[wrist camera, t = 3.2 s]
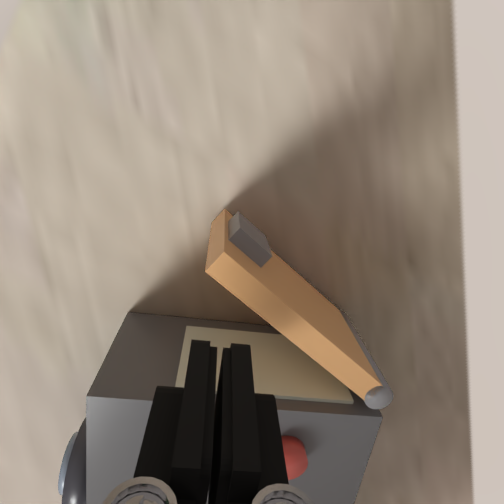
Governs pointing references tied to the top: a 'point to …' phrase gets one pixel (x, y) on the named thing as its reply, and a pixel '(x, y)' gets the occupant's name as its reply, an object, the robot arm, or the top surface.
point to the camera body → (174, 373)
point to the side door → (292, 306)
